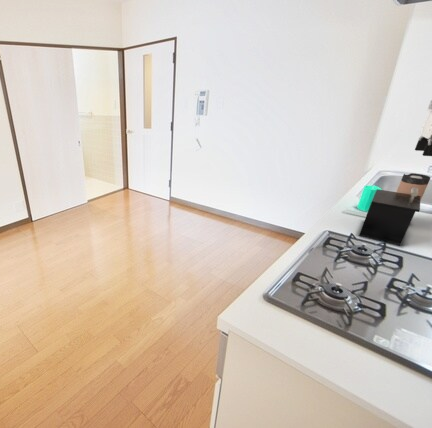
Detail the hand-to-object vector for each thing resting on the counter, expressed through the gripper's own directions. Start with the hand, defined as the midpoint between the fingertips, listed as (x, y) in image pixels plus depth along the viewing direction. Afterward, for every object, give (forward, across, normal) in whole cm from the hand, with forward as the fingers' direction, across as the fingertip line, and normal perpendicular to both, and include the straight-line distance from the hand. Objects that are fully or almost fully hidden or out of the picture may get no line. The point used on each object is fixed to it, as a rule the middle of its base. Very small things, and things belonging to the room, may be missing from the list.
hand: (424, 153), depth 108 cm
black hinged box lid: (+14, -19, +8) cm, 25 cm away
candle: (+28, +6, +10) cm, 30 cm away
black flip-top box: (+28, -19, +8) cm, 35 cm away
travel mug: (+28, -4, +1) cm, 29 cm away
